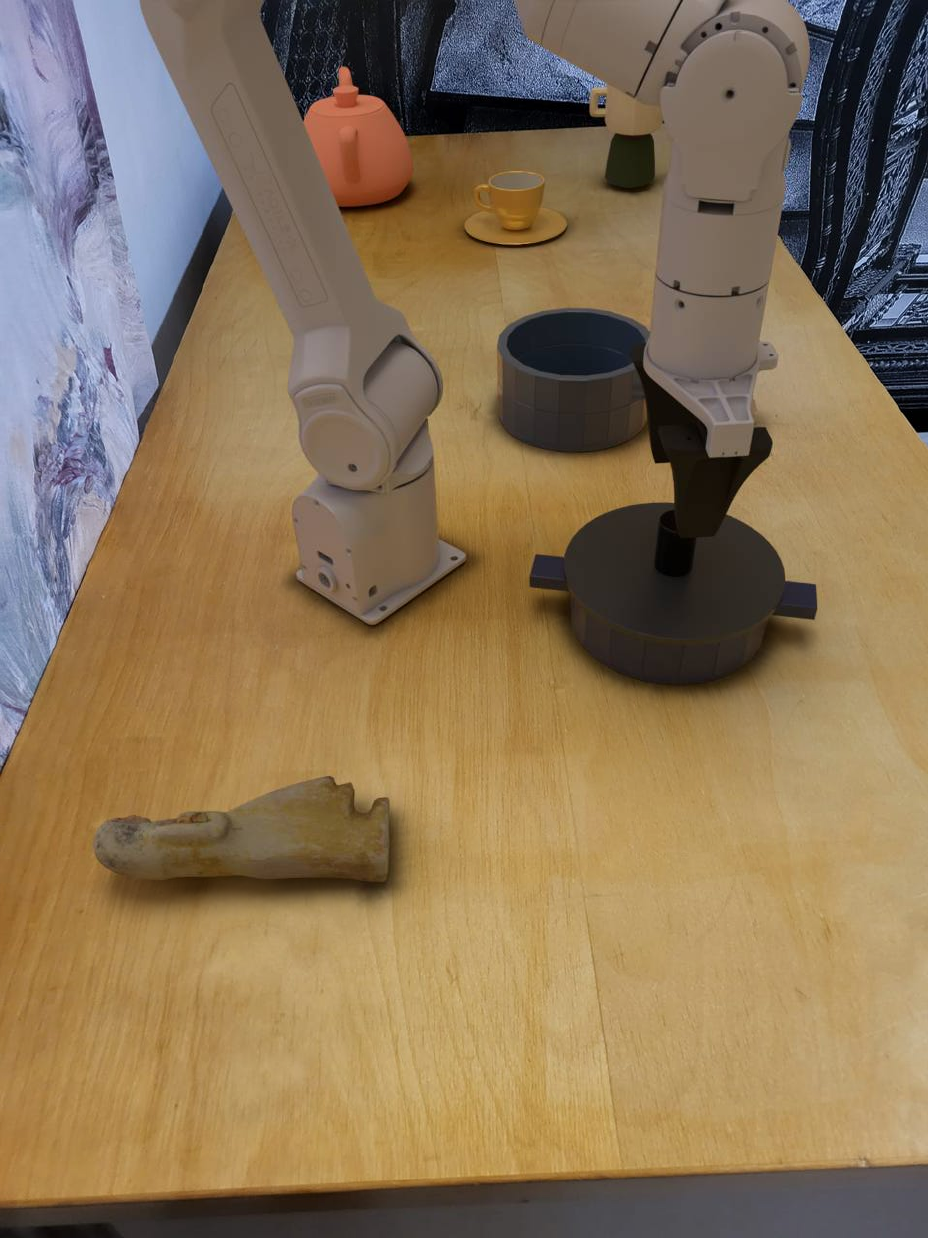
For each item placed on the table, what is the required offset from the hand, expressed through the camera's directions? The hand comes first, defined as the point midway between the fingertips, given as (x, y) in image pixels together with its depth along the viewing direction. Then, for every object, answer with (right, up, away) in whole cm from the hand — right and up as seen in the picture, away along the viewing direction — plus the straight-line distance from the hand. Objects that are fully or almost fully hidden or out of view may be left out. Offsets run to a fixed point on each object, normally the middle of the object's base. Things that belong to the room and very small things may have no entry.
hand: (682, 495), depth 60 cm
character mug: (+8, +48, +68) cm, 83 cm away
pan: (0, -7, +7) cm, 10 cm away
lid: (0, -4, +4) cm, 6 cm away
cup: (-7, +38, +58) cm, 70 cm away
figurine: (-24, -20, -6) cm, 32 cm away
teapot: (-27, +48, +70) cm, 88 cm away
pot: (-4, +10, +27) cm, 29 cm away
